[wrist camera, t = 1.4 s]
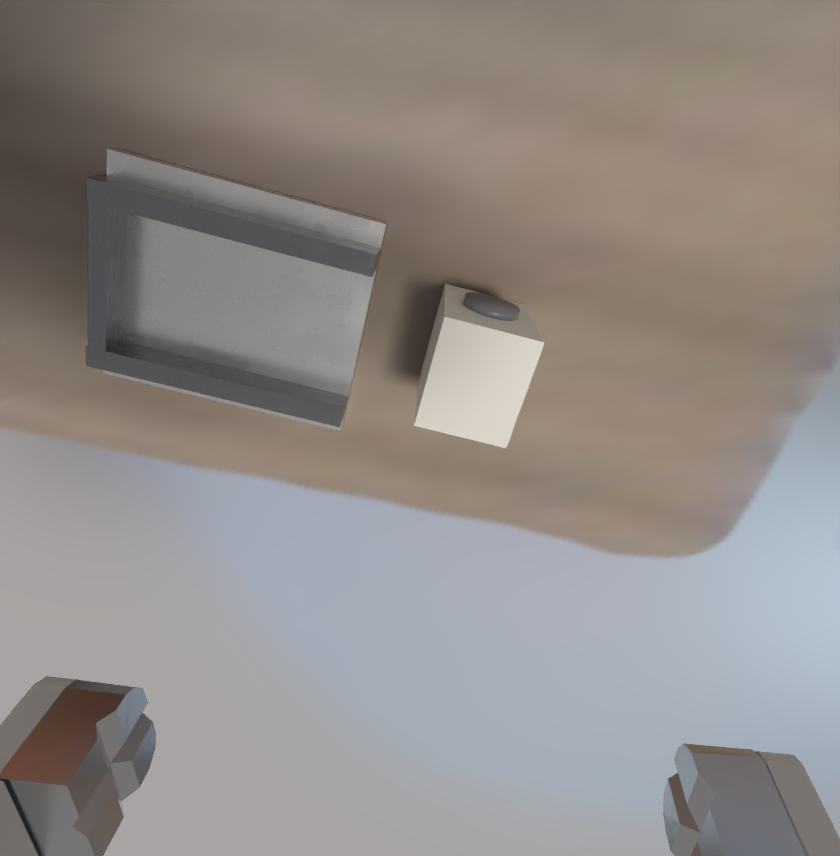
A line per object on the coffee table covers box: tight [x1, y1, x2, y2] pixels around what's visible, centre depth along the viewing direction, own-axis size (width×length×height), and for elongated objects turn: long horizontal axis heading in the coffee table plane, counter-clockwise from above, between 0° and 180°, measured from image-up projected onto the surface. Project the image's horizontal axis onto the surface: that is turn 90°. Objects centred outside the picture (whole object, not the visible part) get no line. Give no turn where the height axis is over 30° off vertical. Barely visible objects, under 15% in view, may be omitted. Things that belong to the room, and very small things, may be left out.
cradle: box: [86, 148, 387, 431], centre depth 34 cm, size 15×13×3 cm
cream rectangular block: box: [414, 284, 545, 448], centre depth 33 cm, size 5×6×7 cm
